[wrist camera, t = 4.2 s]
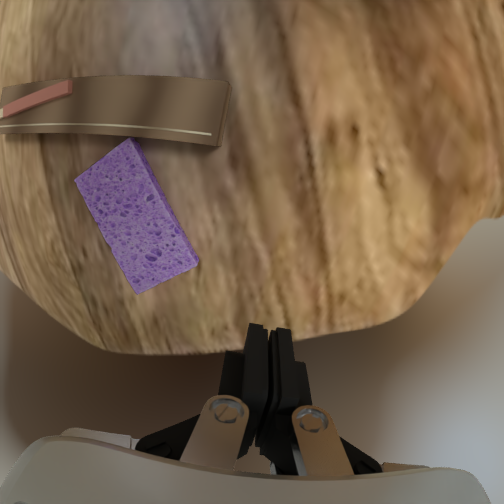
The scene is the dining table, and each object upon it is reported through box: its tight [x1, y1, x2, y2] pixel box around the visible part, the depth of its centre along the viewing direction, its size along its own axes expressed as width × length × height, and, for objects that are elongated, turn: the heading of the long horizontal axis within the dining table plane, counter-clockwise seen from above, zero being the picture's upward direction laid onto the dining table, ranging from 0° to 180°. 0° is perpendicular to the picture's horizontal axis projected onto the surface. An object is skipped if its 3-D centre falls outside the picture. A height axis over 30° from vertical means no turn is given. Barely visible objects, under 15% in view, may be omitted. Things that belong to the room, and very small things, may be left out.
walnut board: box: [0, 75, 232, 146], centre depth 21 cm, size 24×5×3 cm, turn 80°
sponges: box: [74, 137, 199, 295], centre depth 25 cm, size 7×13×2 cm, turn 26°
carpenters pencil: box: [0, 80, 73, 119], centre depth 19 cm, size 10×1×1 cm, turn 92°
